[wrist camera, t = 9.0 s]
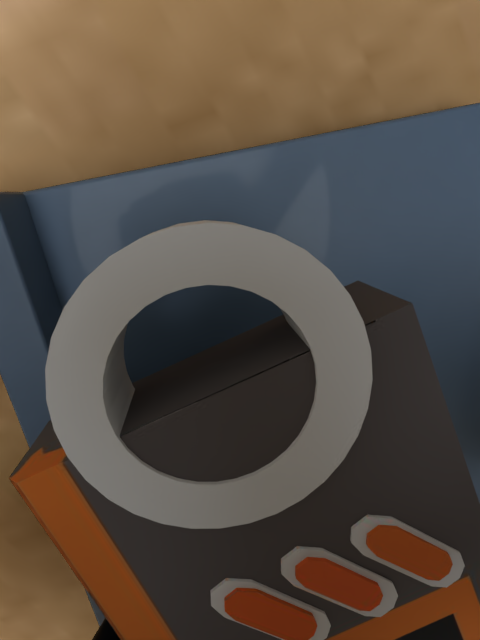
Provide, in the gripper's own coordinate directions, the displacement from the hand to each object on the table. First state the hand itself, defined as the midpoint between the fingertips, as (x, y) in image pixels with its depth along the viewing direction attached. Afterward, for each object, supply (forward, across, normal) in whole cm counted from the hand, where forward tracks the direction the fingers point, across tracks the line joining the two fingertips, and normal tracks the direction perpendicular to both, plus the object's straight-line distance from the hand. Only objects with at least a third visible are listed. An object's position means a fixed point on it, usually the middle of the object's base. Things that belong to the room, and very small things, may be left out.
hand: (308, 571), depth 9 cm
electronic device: (+1, 0, 0) cm, 1 cm away
